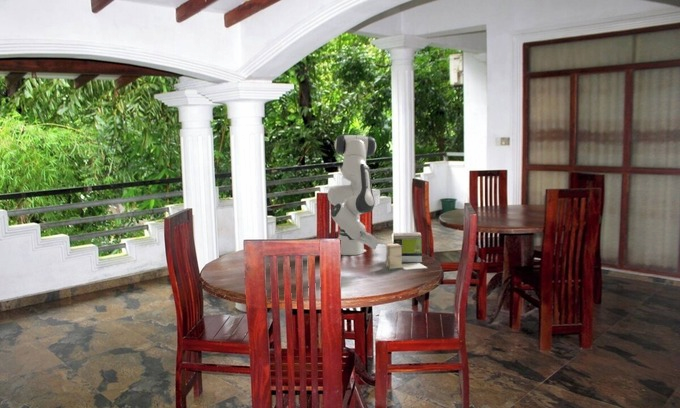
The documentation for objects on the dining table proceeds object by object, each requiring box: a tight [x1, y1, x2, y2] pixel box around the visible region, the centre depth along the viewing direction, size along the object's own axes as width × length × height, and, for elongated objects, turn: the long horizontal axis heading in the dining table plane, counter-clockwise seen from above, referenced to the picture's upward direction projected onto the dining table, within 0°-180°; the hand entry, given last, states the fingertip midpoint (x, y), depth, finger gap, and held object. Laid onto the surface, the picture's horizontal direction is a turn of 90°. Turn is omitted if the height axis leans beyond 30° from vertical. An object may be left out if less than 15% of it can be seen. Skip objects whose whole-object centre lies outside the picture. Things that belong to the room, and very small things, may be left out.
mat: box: [402, 262, 428, 271], centre depth 303 cm, size 11×12×1 cm
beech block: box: [385, 243, 403, 271], centre depth 300 cm, size 6×6×12 cm
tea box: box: [392, 231, 423, 263], centre depth 316 cm, size 15×10×15 cm, turn 84°
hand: (374, 248), depth 295 cm, fingers closed
